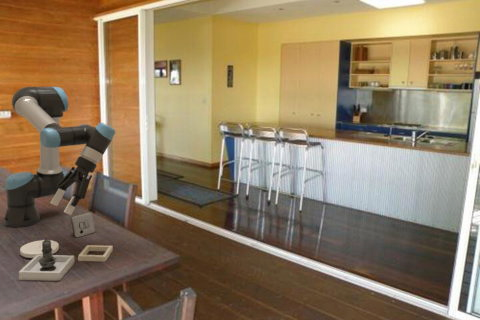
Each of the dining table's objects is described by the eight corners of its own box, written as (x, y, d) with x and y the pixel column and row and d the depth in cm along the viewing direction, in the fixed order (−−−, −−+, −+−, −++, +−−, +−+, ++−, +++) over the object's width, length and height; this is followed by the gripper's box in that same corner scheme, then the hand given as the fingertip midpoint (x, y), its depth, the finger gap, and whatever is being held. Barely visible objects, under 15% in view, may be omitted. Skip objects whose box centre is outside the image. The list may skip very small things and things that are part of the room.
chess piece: (42, 265, 153) (40, 234, 150) (59, 265, 153) (57, 235, 151) (36, 272, 147) (34, 241, 145) (53, 272, 148) (51, 241, 145)
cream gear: (22, 247, 170) (22, 242, 169) (59, 244, 175) (59, 238, 174) (18, 262, 157) (18, 256, 156) (58, 257, 162) (58, 251, 161)
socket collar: (87, 249, 169) (87, 245, 169) (112, 250, 170) (112, 245, 169) (78, 260, 159) (78, 256, 159) (105, 261, 160) (105, 256, 159)
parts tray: (37, 262, 157) (37, 254, 156) (74, 262, 157) (74, 255, 157) (19, 279, 143) (18, 272, 143) (59, 280, 144) (59, 272, 143)
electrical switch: (76, 238, 181) (74, 217, 179) (70, 236, 184) (68, 216, 182) (95, 232, 188) (93, 213, 186) (89, 230, 191) (87, 211, 190)
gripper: (111, 170, 154) (82, 221, 150) (83, 159, 172) (56, 204, 167) (94, 161, 149) (64, 213, 145) (67, 150, 167) (39, 197, 162)
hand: (60, 209), depth 156 cm, fingers open, 13 cm apart
